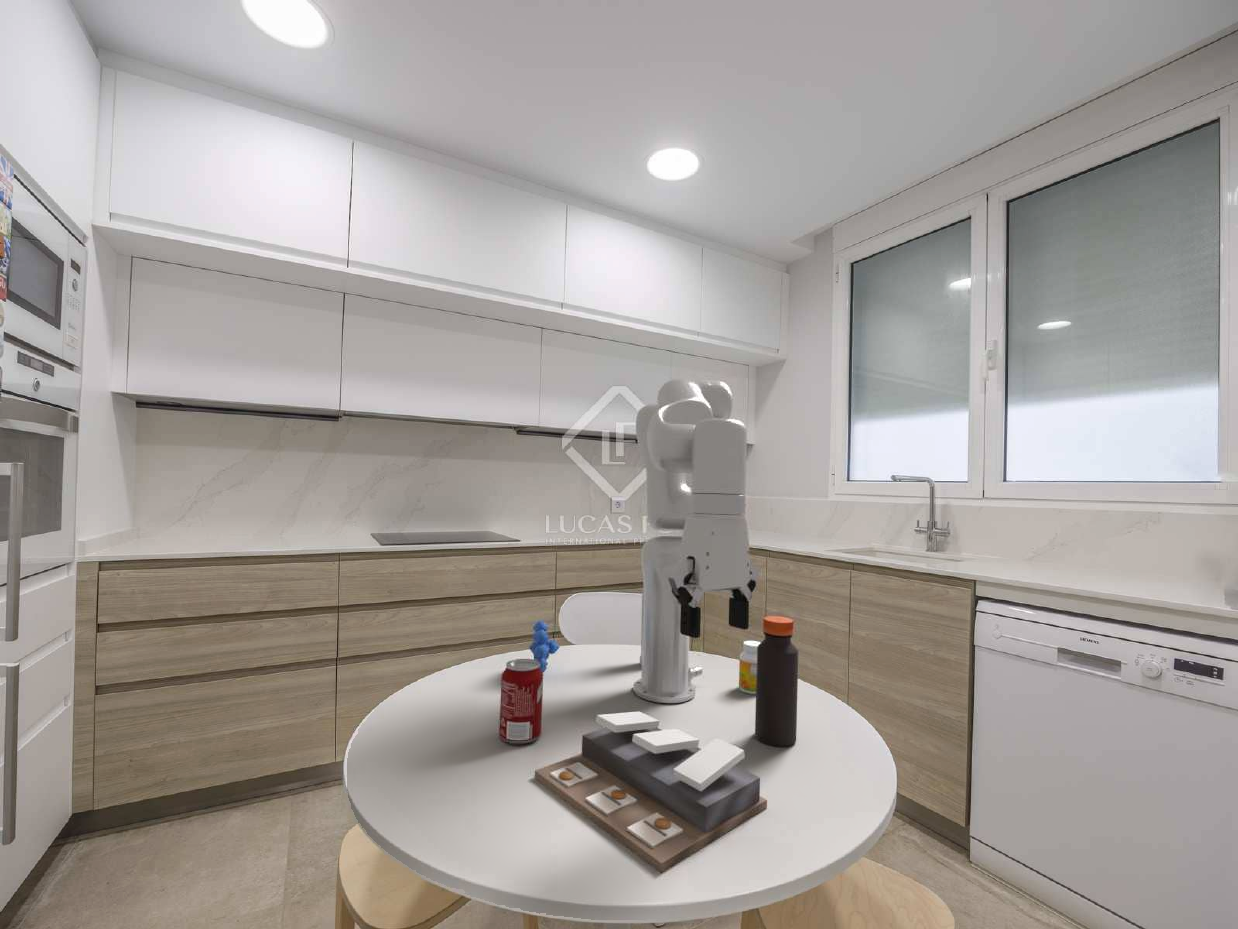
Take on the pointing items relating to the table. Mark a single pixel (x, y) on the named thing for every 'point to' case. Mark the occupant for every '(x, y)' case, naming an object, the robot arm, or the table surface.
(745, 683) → the supplement bottle
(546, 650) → the grapes
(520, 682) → the soda can
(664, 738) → the rocker middle
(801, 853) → the table surface
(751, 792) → the rocker switch unit
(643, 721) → the rocker far
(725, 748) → the rocker near
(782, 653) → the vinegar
